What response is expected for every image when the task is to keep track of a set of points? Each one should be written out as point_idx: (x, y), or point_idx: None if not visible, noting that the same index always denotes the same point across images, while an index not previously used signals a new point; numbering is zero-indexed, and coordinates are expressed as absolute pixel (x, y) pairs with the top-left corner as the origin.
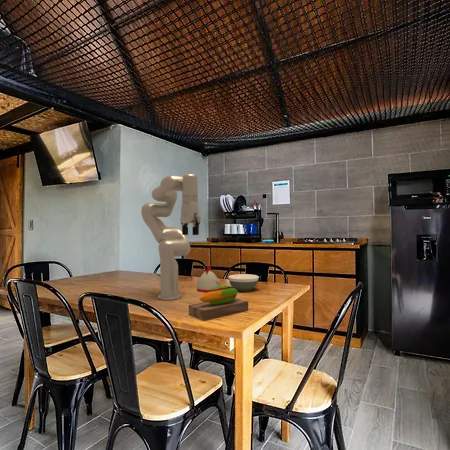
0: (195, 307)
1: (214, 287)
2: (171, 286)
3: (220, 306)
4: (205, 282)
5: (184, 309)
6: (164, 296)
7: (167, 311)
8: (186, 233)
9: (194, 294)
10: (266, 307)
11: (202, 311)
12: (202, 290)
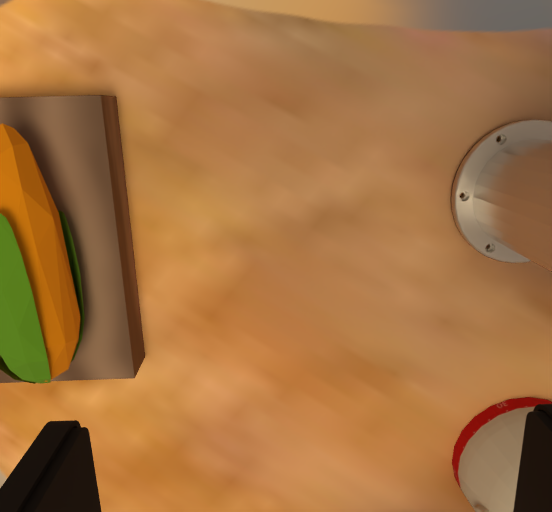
0: (30, 98)
1: (15, 256)
2: (507, 192)
3: None
4: (515, 454)
5: (220, 129)
6: (508, 147)
7: (239, 31)
8: (528, 506)
9: (485, 344)
10: (24, 450)
11: None
12: (502, 409)
